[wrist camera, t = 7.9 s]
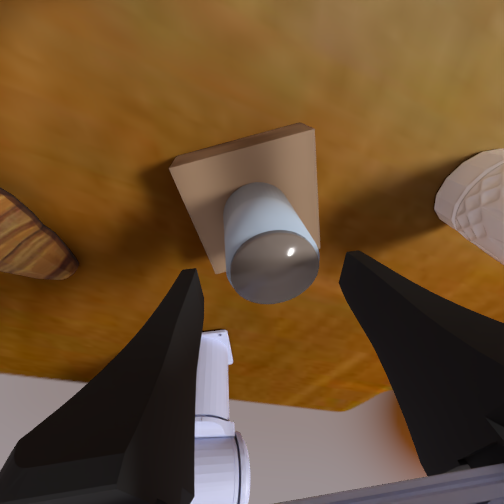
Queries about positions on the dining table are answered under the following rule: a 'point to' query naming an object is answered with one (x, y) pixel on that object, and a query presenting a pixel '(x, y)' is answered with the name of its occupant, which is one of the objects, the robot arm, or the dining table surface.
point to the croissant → (31, 244)
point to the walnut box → (248, 180)
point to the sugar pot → (267, 245)
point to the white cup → (476, 201)
